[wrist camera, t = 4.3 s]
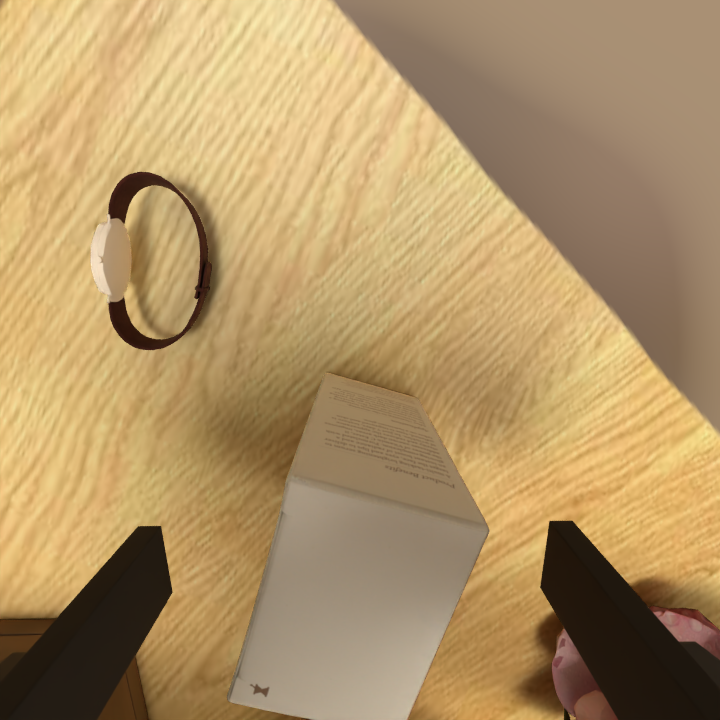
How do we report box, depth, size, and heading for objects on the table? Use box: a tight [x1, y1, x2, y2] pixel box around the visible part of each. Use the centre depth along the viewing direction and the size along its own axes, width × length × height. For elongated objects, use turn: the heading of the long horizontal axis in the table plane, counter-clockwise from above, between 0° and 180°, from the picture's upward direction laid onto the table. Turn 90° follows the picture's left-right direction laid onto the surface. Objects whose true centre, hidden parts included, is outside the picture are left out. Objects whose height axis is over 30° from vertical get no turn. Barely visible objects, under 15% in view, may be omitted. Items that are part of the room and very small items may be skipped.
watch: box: [91, 172, 212, 350], centre depth 15 cm, size 8×5×4 cm, turn 171°
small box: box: [227, 373, 489, 720], centre depth 14 cm, size 8×6×10 cm
